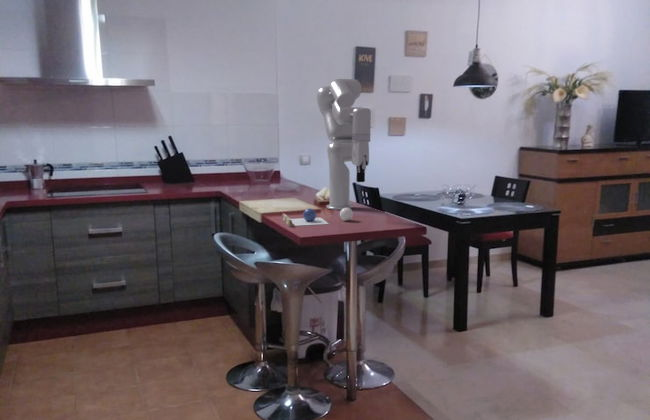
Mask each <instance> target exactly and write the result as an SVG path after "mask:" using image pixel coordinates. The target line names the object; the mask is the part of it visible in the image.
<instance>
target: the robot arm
mask: <svg viewBox="0 0 650 420" xmlns="http://www.w3.org/2000/svg"><path fill="white" fill-rule="evenodd" d="M361 94H362V85H361V82H359V80H358V79H356V78H337V79H334V80H333V81H331V82H330V84H329V85H326V86H322V87H320V88H319V89H318V90H317V93H316V101H317V106H318V108H319V111H320V113H321V115H322V117H323V121H324V126H325V131H326V135H327V136H326V137H327V138H328V141H330V142H331V143H329V144H328V146H327V158H328V165H329V166H328V167H329V169H328V171H329V204H326V209H329V210H334V211H335V210H337V211H338V210H339V211H341V210H342V209H343V208H350V209H351V210H352V209H353V205H352V204H351V203H350V181H351V180H350V177H351V176H350V170H349V168H348V166H347V165H346V162H347V163H348V162H351V164H352V165H354V166H355V167H356V169H355V170H356V171H355V172H356V178H355V179H356V180H355V181H356V182H357V183H365V181H366V177H365V176H366V169H367V167H368V166H369V163H370V146H369V145H370V144H369V143H371V118H372V116H371V115H372V111H371V109H370V108H367V107H366V108H365V107H363V106H362V107H361V106H360V107H356V106H353V105H354V104H355V102H356V100H357V99H358V98H359V97H360V96H361Z"/></svg>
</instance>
